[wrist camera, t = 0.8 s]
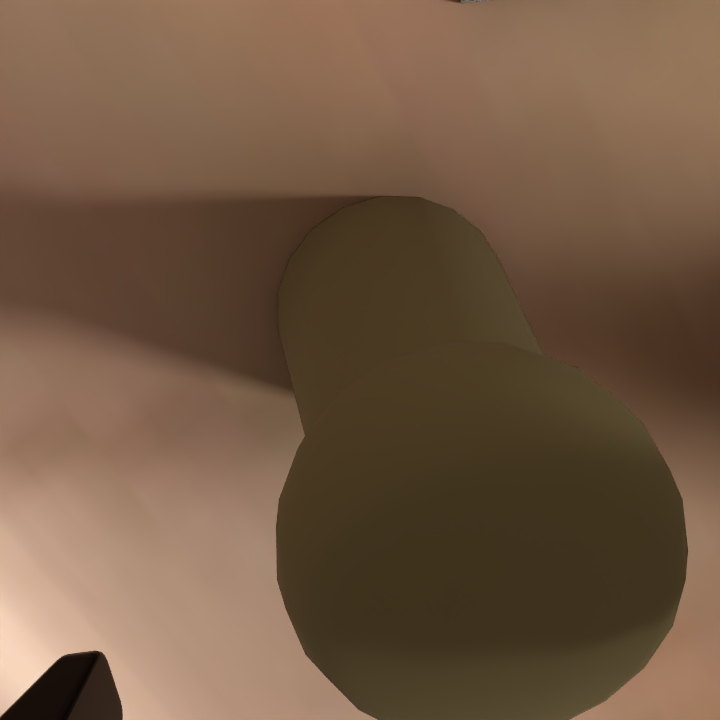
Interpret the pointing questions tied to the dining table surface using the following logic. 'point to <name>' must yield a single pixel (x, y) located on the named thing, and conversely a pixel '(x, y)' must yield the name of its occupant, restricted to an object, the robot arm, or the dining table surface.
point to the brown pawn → (459, 486)
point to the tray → (465, 0)
